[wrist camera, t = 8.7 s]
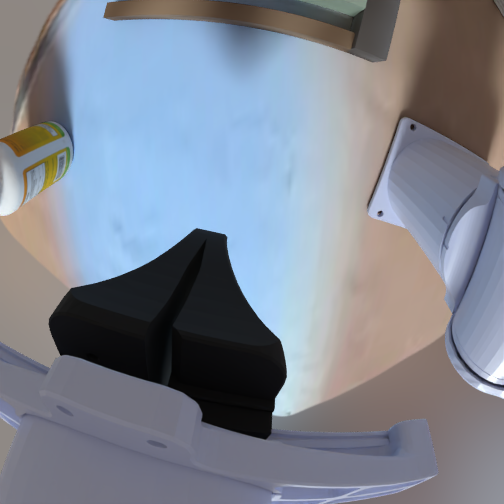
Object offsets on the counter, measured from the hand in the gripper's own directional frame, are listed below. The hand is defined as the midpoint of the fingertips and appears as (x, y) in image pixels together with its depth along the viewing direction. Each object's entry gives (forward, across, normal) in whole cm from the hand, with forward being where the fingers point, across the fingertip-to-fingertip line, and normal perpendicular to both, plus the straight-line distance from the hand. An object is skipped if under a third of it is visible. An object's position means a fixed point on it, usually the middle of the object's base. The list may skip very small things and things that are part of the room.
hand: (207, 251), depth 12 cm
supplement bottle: (+10, +16, 0) cm, 19 cm away
